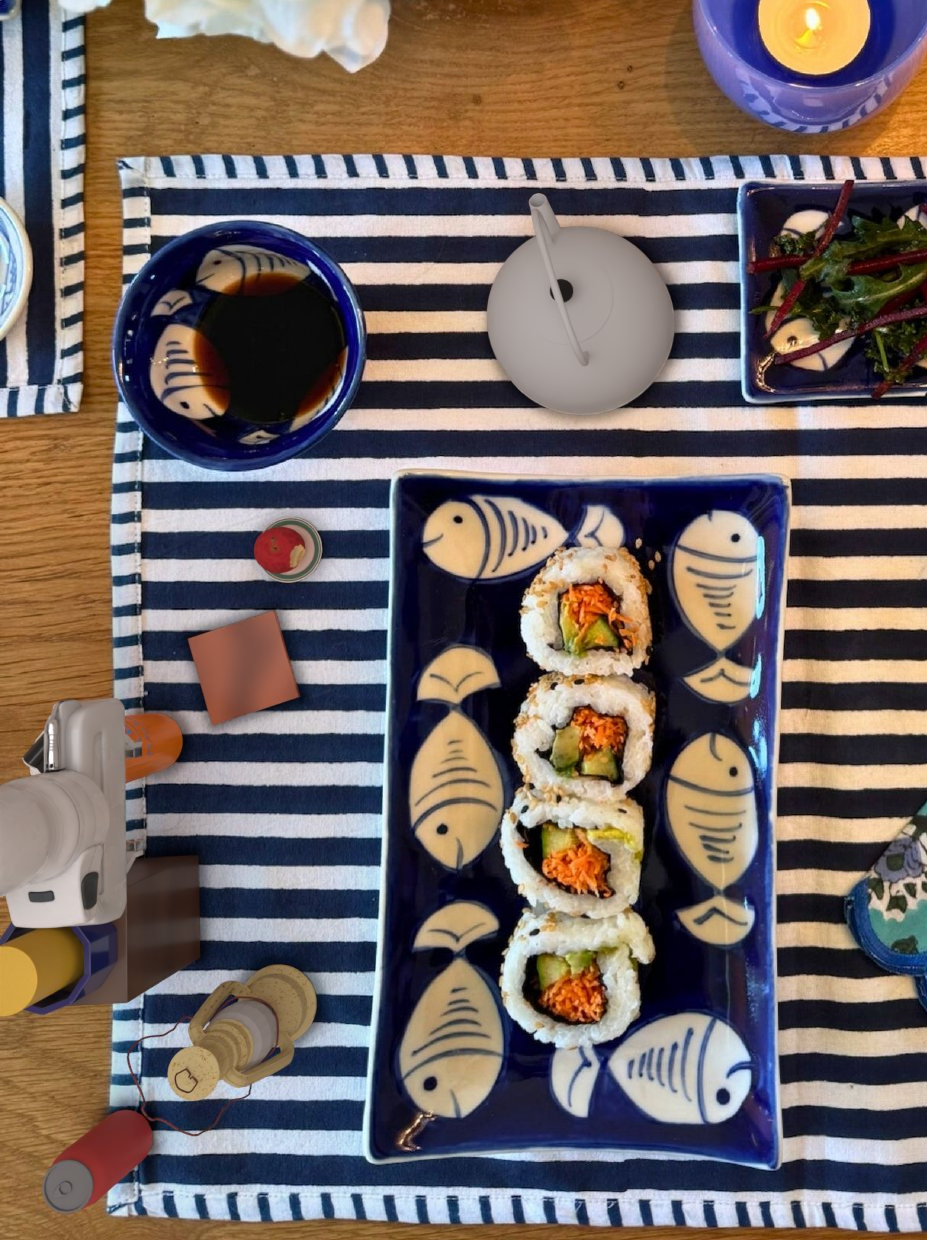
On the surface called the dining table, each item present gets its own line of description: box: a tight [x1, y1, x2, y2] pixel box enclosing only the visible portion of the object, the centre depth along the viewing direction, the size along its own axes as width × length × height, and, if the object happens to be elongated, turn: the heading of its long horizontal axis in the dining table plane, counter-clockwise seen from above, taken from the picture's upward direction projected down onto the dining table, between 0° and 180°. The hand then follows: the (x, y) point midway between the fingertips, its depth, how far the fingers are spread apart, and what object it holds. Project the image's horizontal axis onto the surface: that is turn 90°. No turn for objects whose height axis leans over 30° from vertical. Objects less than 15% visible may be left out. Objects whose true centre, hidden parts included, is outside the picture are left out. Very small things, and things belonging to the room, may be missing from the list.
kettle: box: [486, 193, 676, 416], centre depth 134 cm, size 25×23×22 cm
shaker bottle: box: [21, 712, 184, 785], centre depth 131 cm, size 9×9×20 cm
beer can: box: [41, 1109, 153, 1215], centre depth 131 cm, size 7×7×12 cm
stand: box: [35, 854, 201, 1007], centre depth 131 cm, size 12×12×16 cm
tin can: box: [0, 926, 84, 1017], centre depth 118 cm, size 7×7×11 cm
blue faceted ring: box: [0, 921, 117, 1016], centre depth 121 cm, size 10×10×5 cm
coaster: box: [187, 610, 301, 726], centre depth 142 cm, size 11×11×1 cm
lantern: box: [126, 963, 318, 1137], centre depth 123 cm, size 12×10×30 cm
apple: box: [253, 516, 323, 583], centre depth 140 cm, size 8×8×6 cm
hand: (135, 797), depth 114 cm, fingers open, 8 cm apart
